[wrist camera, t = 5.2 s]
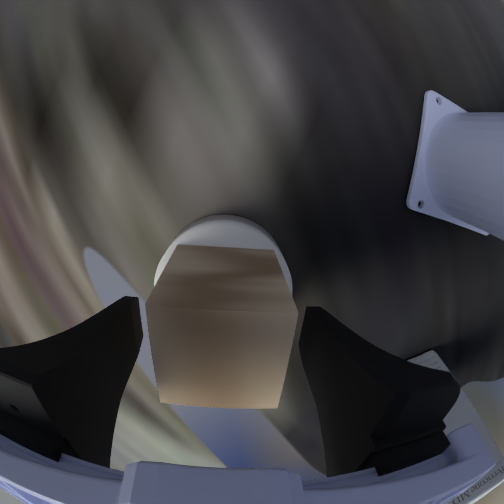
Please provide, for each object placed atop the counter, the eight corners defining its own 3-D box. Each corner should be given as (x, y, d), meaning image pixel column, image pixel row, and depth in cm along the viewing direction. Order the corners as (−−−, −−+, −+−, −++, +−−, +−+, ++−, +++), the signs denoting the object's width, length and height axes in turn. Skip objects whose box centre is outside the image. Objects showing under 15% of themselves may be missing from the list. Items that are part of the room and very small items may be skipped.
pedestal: (296, 225, 16) (307, 239, 13) (270, 330, 18) (275, 354, 16) (169, 205, 15) (158, 216, 12) (162, 315, 17) (153, 338, 15)
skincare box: (433, 347, 20) (520, 466, 6) (420, 389, 22) (483, 496, 8) (349, 376, 20) (416, 536, 6) (345, 416, 22) (392, 547, 8)
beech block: (273, 249, 13) (298, 312, 8) (263, 329, 15) (277, 407, 10) (177, 244, 13) (145, 304, 8) (179, 324, 14) (160, 402, 9)
